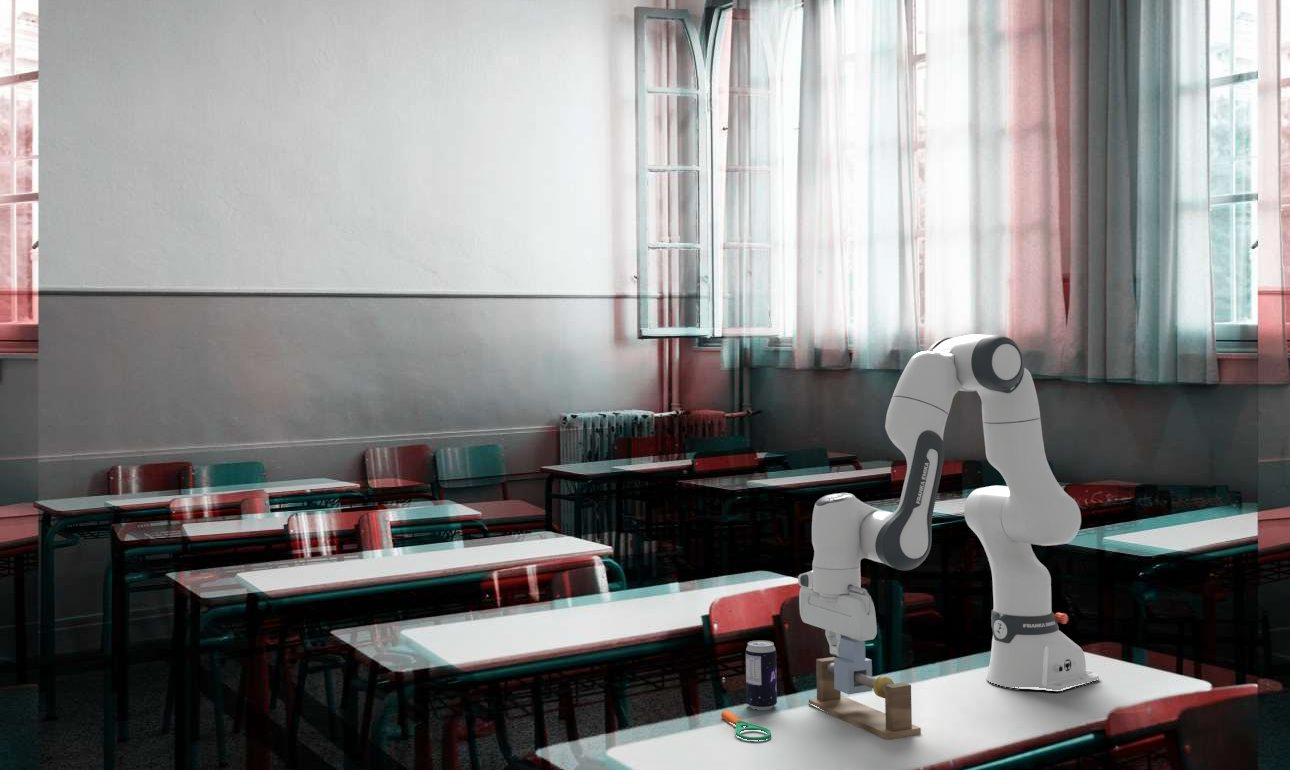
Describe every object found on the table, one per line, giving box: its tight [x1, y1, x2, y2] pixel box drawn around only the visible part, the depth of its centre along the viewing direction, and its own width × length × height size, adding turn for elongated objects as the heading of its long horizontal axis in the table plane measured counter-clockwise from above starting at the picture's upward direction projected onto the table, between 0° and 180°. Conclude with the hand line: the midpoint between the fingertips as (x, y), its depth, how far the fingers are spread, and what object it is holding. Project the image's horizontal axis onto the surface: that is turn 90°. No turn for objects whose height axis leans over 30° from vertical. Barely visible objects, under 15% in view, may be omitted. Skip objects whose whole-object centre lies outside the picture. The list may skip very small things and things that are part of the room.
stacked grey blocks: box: [834, 637, 873, 695], centre depth 208 cm, size 4×5×9 cm
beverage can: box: [745, 640, 778, 711], centre depth 214 cm, size 6×6×12 cm
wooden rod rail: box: [808, 656, 922, 740], centre depth 206 cm, size 24×7×9 cm, turn 25°
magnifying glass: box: [720, 710, 772, 741], centre depth 201 cm, size 15×6×2 cm, turn 19°
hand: (837, 655), depth 212 cm, fingers closed
